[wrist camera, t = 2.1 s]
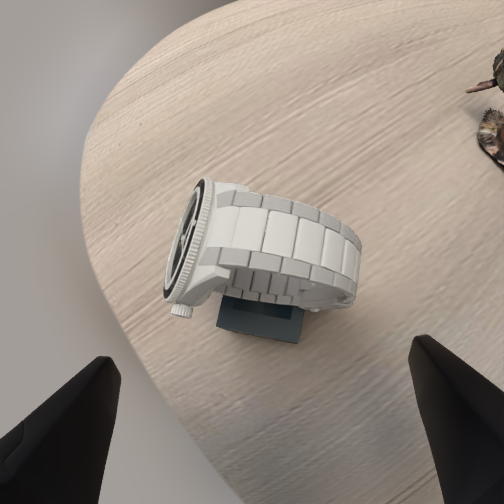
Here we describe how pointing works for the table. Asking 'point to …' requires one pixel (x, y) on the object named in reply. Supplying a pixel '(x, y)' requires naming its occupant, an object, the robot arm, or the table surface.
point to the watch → (260, 260)
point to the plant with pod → (493, 114)
